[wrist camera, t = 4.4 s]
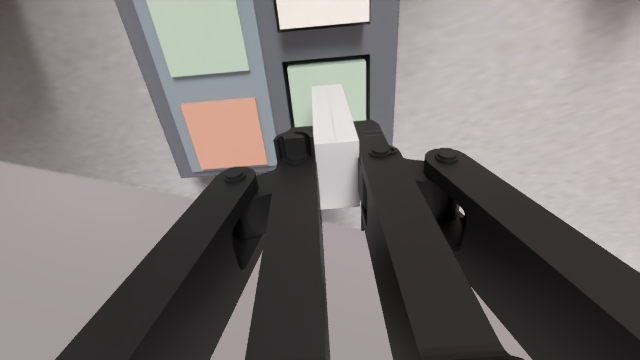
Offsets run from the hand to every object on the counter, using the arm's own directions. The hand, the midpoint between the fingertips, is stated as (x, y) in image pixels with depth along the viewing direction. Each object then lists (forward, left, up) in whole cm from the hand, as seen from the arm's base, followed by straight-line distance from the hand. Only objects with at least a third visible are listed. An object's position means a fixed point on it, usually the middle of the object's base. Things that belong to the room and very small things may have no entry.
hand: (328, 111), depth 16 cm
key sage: (0, 0, -5) cm, 5 cm away
